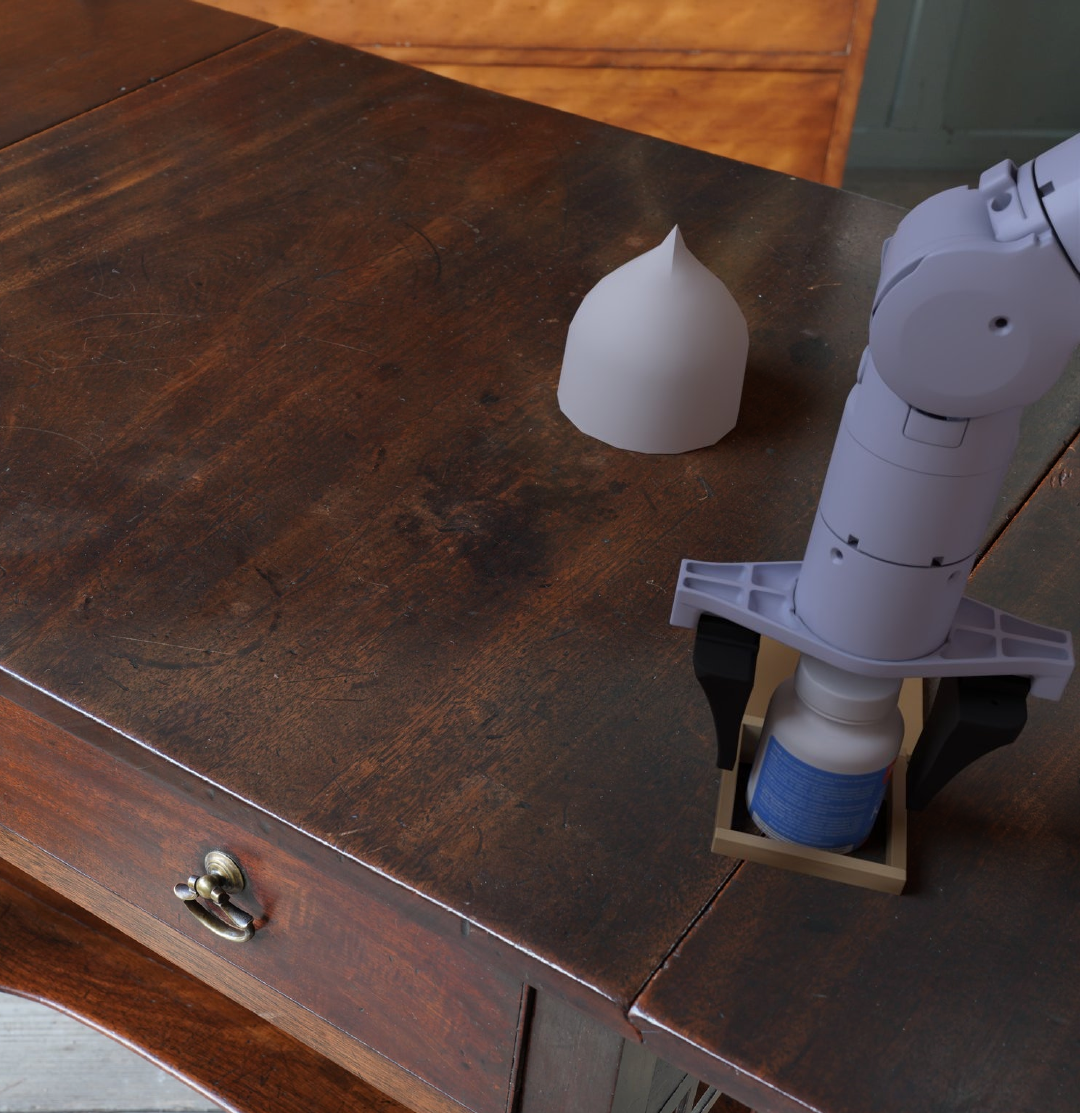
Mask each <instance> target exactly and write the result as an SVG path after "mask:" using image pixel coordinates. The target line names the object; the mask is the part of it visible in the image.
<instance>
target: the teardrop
mask: <svg viewBox="0 0 1080 1113" xmlns="http://www.w3.org/2000/svg"><path fill="white" fill-rule="evenodd" d="M749 347H750V338H749V330H748V323H747V320H746V318H745V316H744V314H743V312H742V310H741V308H740V307H739V304H738V303H737V301H736V300H735V298H734V297H733V295H732V294H731V292H730V290H729V289H728V288H727V286H726V285H725V283H724V282H723V281H722V280H721V279H720V278H718V276H717V275H715V274H714V273H713V272H712V271H711V270H709V269H708V268H707V267H706V266H705V265H704V264H703V263H702V262H701V261H700V260H698V259H697V258H696V256H695V255H694V254H693V253H692V252H691V251H690V250H689V249H688V247H687V246H686V243H685V241H684V237H683V236H682V233H681V230H680V228H679V225H678V223H676V224H675V225H674V227H673V228H672V229H671V231H670V232H669V234H667V236H666V237H665V238H664V240H663V241H662V242H661V244H659V245H657V246H655V247H654V248H652V249H650V250H648V251H646V252H644V253H642V254H641V255H638V256H637V257H635V258H633V259H631V260H629V261H628V262H626V263H624V264H623V265H620V266H619V267H618V268H615V270H613V271H611V272H610V273H608V274H606V275H605V276H604V277H602V278H601V279H600V280H599V281H598V282H597V283H596V284H595V285H594V287H593V288H592V289H590V291H588V293H587V294H586V295H585V296H584V298H583V299H582V301H581V302H580V305H579V306H578V309H577V310H576V312H575V314H574V316H573V319H572V321H571V322H570V324H569V326H568V332H567V337H566V342H565V348H564V354H563V359H562V365H561V370H560V375H559V382H558V387H557V391H556V392H557V393H556V395H557V401H558V405H559V410H560V411H561V413H563V414H564V415H565V417H566V418H567V419H568V420H569V421H571V423H572V424H573V425H574V426H575V427H576V428H577V429H578V430H579V431H580V432H581V433H583V434H585V435H587V436H590V437H592V438H594V439H597V440H599V441H601V442H603V443H605V444H607V445H610V446H612V447H614V448H617V449H620V450H626V451H631V452H636V453H642V454H647V455H648V454H649V455H652V454H653V455H655V454H656V455H657V454H658V455H665V454H667V455H668V454H669V455H670V454H671V455H677V454H683V453H686V452H690V451H694V450H698V449H702V448H705V447H709V446H714V445H716V444H717V443H718V442H719V441H720V440H721V439H722V438H723V437H724V436H726V435H728V433H729V432H731V431H732V430H733V429H734V428H736V425H737V420H738V417H739V412H740V405H741V400H742V399H741V398H742V392H743V386H744V378H745V373H746V368H747V367H746V366H747V359H748V354H749Z"/></svg>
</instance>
